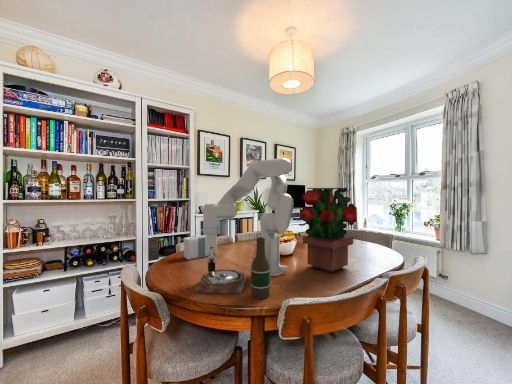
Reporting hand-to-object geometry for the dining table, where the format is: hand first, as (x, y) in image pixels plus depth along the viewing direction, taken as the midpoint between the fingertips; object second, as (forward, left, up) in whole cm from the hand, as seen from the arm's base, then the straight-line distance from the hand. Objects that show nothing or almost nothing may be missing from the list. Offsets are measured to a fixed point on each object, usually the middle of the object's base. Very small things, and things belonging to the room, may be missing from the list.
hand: (211, 268), depth 113 cm
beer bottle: (-24, +11, -7) cm, 27 cm away
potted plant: (-60, -27, -7) cm, 66 cm away
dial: (-6, 0, -5) cm, 8 cm away
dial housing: (-6, 0, -7) cm, 9 cm away
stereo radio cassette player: (+18, -44, -7) cm, 48 cm away
